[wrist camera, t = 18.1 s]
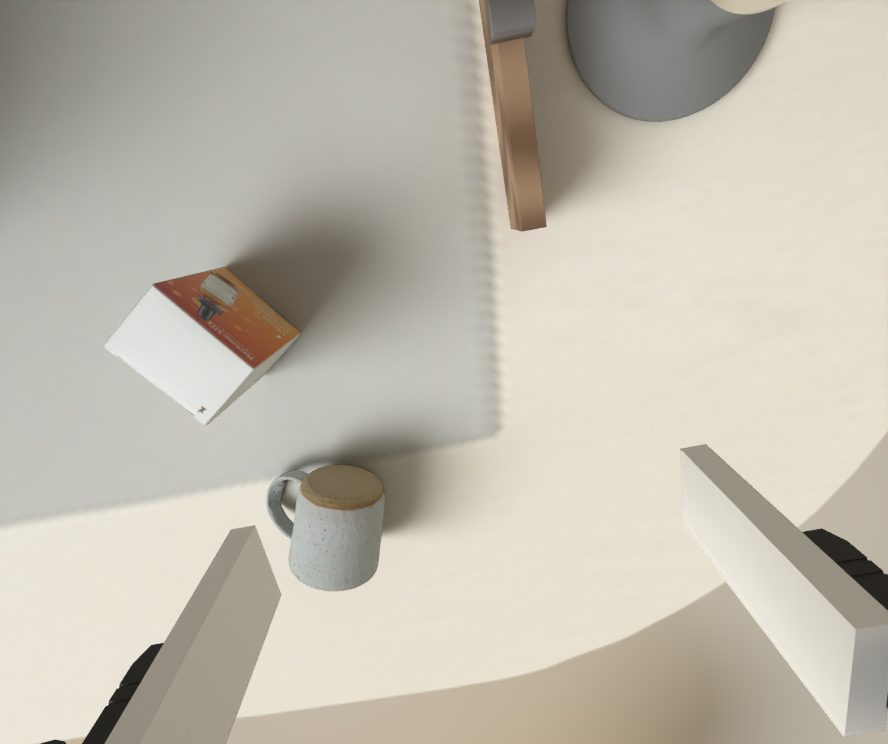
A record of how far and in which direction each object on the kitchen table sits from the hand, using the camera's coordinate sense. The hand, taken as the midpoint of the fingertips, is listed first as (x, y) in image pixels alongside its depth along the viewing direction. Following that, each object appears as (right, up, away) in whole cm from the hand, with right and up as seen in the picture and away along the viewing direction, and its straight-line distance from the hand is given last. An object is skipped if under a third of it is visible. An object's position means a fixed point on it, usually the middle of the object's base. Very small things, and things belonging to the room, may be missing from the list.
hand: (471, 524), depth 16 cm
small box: (-17, +9, +26) cm, 33 cm away
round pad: (+15, +30, +19) cm, 38 cm away
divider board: (+3, +28, +20) cm, 35 cm away
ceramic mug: (-11, -7, +31) cm, 34 cm away
